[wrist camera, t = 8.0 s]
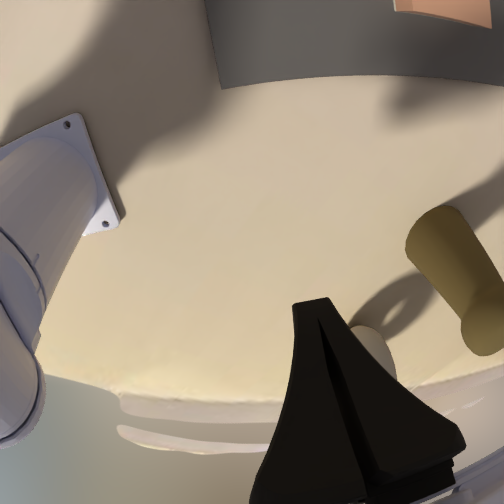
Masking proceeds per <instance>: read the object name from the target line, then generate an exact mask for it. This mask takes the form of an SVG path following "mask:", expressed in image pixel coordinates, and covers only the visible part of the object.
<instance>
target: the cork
mask: <svg viewBox="0 0 504 504" xmlns="http://www.w3.org/2000/svg"><path fill="white" fill-rule="evenodd" d="M405 251H406V254H407V257H408V258H409V259H410V261H411V262H412V263H413V264H414V265H415V266H416V267H417V268H418V269H419V270H420V272H421V273H422V274H423V275H424V276H425V277H426V278H427V279H428V281H429V282H430V283H431V284H432V285H433V286H434V288H435V289H436V290H437V291H438V292H439V293H440V295H441V296H442V297H443V298H444V299H445V300H446V302H447V303H448V304H449V305H450V306H451V308H452V309H453V310H454V311H455V313H456V314H457V315H458V316H459V318H460V319H461V333H462V337H463V340H464V342H465V344H466V346H467V347H468V348H469V349H470V350H471V351H472V352H473V353H474V354H476V355H478V356H488V355H492V354H494V353H496V352H498V351H499V350H501V349H502V348H504V282H503V280H502V278H501V276H500V275H499V273H498V271H497V269H496V268H495V266H494V264H493V263H492V261H491V259H490V258H489V256H488V254H487V253H486V251H485V249H484V248H483V246H482V245H481V243H480V241H479V240H478V238H477V237H476V235H475V234H474V232H473V231H472V229H471V228H470V226H469V225H468V223H467V222H466V220H465V219H464V217H463V216H462V215H461V213H460V212H459V210H457V209H456V208H454V207H452V206H445V205H444V206H440V207H436V208H434V209H432V210H430V211H428V212H427V213H425V214H424V215H423V216H422V217H421V218H420V219H418V220H417V221H416V223H415V224H414V226H413V227H412V229H411V230H410V232H409V234H408V237H407V239H406V247H405Z"/></svg>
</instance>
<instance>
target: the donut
mask: <svg viewBox="0 0 504 504" xmlns="http://www.w3.org/2000/svg"><path fill="white" fill-rule="evenodd" d="M351 331H352V332H353V333H354V334H355V336H356V337H357V338H358V339H359V341H360V342H361V343H362V344H363V346H364V347H365V348H366V349H367V350H368V351H369V353H370V354H371V355H372V356H373V357H374V358H375V359H376V360H377V361H378V362H379V364H380V365H381V366H382V367H383V368H384V369H385V370H386V371H387V372H388V373H389V374H390V375H391V376H393V377H394V378H395V379H396V380H397V375H396V369H395V364H394V361H393V358H392V355H391V352H390V350H389V348H388V346H387V344H386V342H385V340H384V339H383V337H382V336H381V335H380V334H379V333H378V332H377V331H376V330H374V329H373V328H370V327H366V326H363V325H360V326H355V327H352V328H351Z"/></svg>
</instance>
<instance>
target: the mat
mask: <svg viewBox="0 0 504 504" xmlns="http://www.w3.org/2000/svg"><path fill="white" fill-rule="evenodd" d="M205 6H206V11H207V16H208V21H209V27H210V32H211V37H212V42H213V48H214V53H215V58H216V63H217V68H218V74H219V79H220V84H221V89H227V88H233V87H239V86H245V85H252V84H259V83H266V82H274V81H282V80H291V79H302V78H314V77H329V76H352V75H397V76H420V77H434V78H445V79H455V80H464V81H471V82H478V83H485V84H491V85H497V86H503V87H504V0H490V10H491V23H492V29H489V28H483V27H477V26H471V25H467V24H463V23H459V22H454V21H450V20H445V19H440V18H435V17H430V16H424V15H418V14H412V13H404V12H396V11H395V10H394V2H393V0H205Z"/></svg>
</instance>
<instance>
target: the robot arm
mask: <svg viewBox="0 0 504 504" xmlns="http://www.w3.org/2000/svg"><path fill="white" fill-rule="evenodd" d="M66 121H68V122H70V125H71V126H70V127H67V126H66ZM104 221H107V222H108V223H109V224H106V223H104ZM119 224H120V217H119V215H118V212H117V210H116V207H115V205H114V202H113V200H112V197H111V195H110V192H109V190H108V187H107V185H106V182H105V179H104V177H103V174H102V171H101V169H100V166H99V163H98V161H97V158H96V155H95V152H94V149H93V146H92V144H91V141H90V138H89V135H88V132H87V129H86V126H85V123H84V119H83V117H82V115H81V114H79V113H73V114H70V115H68V116H66V117H63V118H61V119H58V120H56V121H54V122H52V123H49V124H47V125H45V126H43V127H41V128H38V129H36V130H34V131H32V132H30V133H28V134H26V135H24V136H22V137H20V138H18V139H16V140H14V141H12V142H10V143H8V144H6V145H5V146H3V147H1V148H0V449H3V448H7V447H10V446H13V445H15V444H16V443H19V442H20V441H21V440H23V439H24V438H25V437H27V435H28V434H29V433H30V432H31V431H32V430H33V429H34V427H35V426H36V424H37V422H38V421H39V418H40V416H41V414H42V411H43V407H44V404H45V397H46V383H45V378H44V373H43V370H42V368H41V365H40V363H39V362H38V360H37V358H36V357H35V355H34V354H35V351H36V348H37V345H38V343H39V340H40V337H41V334H40V331H39V326H40V323H41V321H42V319H43V316H44V313H45V311H46V308H47V306H48V304H49V302H50V299H51V297H52V295H53V293H54V290H55V288H56V286H57V284H58V282H59V280H60V277H61V275H62V273H63V271H64V269H65V267H66V265H67V263H68V261H69V259H70V257H71V255H72V253H73V251H74V249H75V248H76V246H77V244H78V242H79V240H80V238H81V236H84V235H89V234H93V233H97V232H101V231H106V230H110V229H114V228H117V227H118V226H119ZM292 312H293V324H294V349H293V359H292V365H291V372H290V378H289V383H288V387H287V392H286V396H285V400H284V404H283V407H282V411H281V414H280V417H279V421H278V424H277V427H276V430H275V432H274V435H273V438H272V440H271V443H270V445H269V448H268V450H267V453H266V455H265V457H264V460H263V462H262V464H261V466H260V468H259V470H258V473H257V475H256V478H255V482H254V485H253V488H252V491H251V495H250V499H249V504H364V503H365V504H420V503H422V502H425V501H427V500H429V499H432V498H434V497H436V496H439V495H441V494H442V493H445V492H447V491H449V490H451V489H453V492H452V494H451V495H449V496H446V497H444V498H441V499H439V500H436V501H434V502H432V503H430V504H504V446H503V447H501V448H500V449H498V450H496V451H495V452H493V453H491V454H490V455H488V456H486V457H484V458H483V459H481V460H479V461H477V462H475V463H473V464H471V465H469V466H468V467H466V468H464V469H462V470H460V471H458V472H455V473H453V471H452V467H453V466H454V462H453V459H452V458H453V457H454V456H456V455H457V454H459V453H460V452H461V451H463V450H465V448H466V443H465V440H464V437H463V435H462V433H461V431H460V430H459V428H458V426H457V425H456V424H455V423H453V422H452V421H450V420H448V419H447V418H445V417H444V416H442V415H440V414H439V413H437V412H436V411H434V410H433V409H432V408H430V407H429V406H427V405H426V404H425V403H423V402H422V401H421V400H420V399H418V398H417V397H416V396H415V395H413V394H412V393H411V392H410V391H408V390H407V389H406V388H405V387H403V386H402V385H401V384H400V383H399V382H398V381H397V380H396V379H395V378H394V377H393V376H391V375H390V374H389V373H388V372H387V371H386V370H385V369H384V368H383V367H382V366H381V365H380V364H379V362H378V361H377V360H376V359H375V358H374V357H373V356H372V355H371V354H370V353H369V351H368V350H367V349H366V348H365V347H364V346H363V344H362V343H361V342H360V341H359V339H358V338H357V337H356V336H355V334H354V333H353V332H352V331H351V329H350V328H349V327H348V325H347V324H346V323H345V321H344V320H343V318H342V317H341V316H340V314H339V313H338V311H337V310H336V308H335V306H334V305H333V303H332V302H331V300H330V299H329V298H328V297H325V298H320V299H315V300H310V301H304V302H299V303H295V304H293V305H292Z"/></svg>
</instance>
